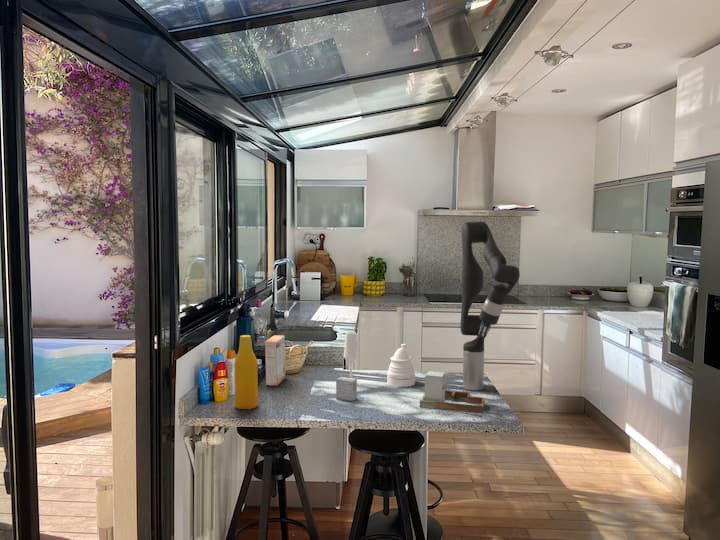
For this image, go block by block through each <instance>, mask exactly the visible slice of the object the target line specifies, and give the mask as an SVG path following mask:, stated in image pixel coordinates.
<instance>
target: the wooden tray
mask: <svg viewBox="0 0 720 540" xmlns="http://www.w3.org/2000/svg"><path fill="white" fill-rule="evenodd" d="M485 400H486V399H485V397H479V396H471V392H469V391H458V390H457V391H456V390H446V389H445V402H435V401H425V392H424V393H423V395H422V397H421V398H420V399H419V408H427V407H429V408H430V409H438V408H441V409H440V410H447V411H449V410H451V411H458V412H459V411H460V412H461V411H462V412H470V411H471V412H472V413H480V412H482V414H483V412H484V409H485V405H486V404H485V403H486V401H485ZM446 401H450V402H446ZM455 402H463V403H455ZM464 403H465V404H464ZM466 403H467V404H466ZM477 403H478V404H477ZM429 408H428V409H429ZM471 412H470V413H471Z"/></svg>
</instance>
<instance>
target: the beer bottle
mask: <svg viewBox="0 0 720 540" xmlns="http://www.w3.org/2000/svg"><path fill="white" fill-rule="evenodd" d="M252 342H253V341H252V336H251V335H249V334H244V335H240V336H239V346H238V347H239V348H238V352H237V355H236V357H235V359H234V365H233V366H234V406H235V408H236V409H238V410H241V409H248V410H253V409H255V408H256V407H258V405H259V391H258V390H259V388H258V387H259V386H258V384H259V382H258V381H259V378H258V374H259V373H258V372H259V371H258V360H257V357H256V354H255V353H254V350H253V344H252ZM252 408H253V409H252Z"/></svg>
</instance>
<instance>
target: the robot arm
mask: <svg viewBox="0 0 720 540" xmlns="http://www.w3.org/2000/svg"><path fill="white" fill-rule="evenodd" d="M480 243H483V244H484V248H483V253H482V255H483V258H484V260H485V262H486V263H487V265H488V266H489V269H490V274H491V277H492V279H493V280H494V281H496V282H498V283H499V284H494V285H492V286H491V287H490V289H489V291H488V293H487V297H486V298H485V301H484V304H483V305H482V308H481V309H480V310H481V311H480V313H479V314H469V313H470V309H471V307H472V305H473V303H474V301H475V300H476V299H477V297H479V295H480V293H481V292H482V290H483V288H484V271H483V269H482V266H481V265H480V264H479V262H478V260H477V258H476V257H475V254H474V252H473V251H474V250H473V244H480ZM461 250H462V251H461V252H462V253H461V254H462V268H461V269H462V270H461V272H462V273H461V312H460V313H461V314H460V333H461V335H462V336H476V338H474V339H473V340H470V341H467V342H465V343H464V344H463V346H462V347H463V348H462V349H463V351H462V352H463V354H462V355H463V358H462V359H463V360H462V388H463V389H465V390H468V391H469V390H470V391H481V390H483V389H484V384H485V383H484V382H485V381H484V379H485V377H484V375H485V372H484V371H485V338H486V337H487V335H488V334H489V332H490V330H491V327H492V326H495V325H497V323H498V322H499V319H500V316H501V314H502V312H503V308H504V306H505V302H506V299H507V296H509V294H510V292H511V291H512V290H513V289H514V288H515V286H516V285H517V283H518V282H519V279H520V270H519V268H518V267H517V266H516V265H515V266H514V265H509V264H508V263H507V259H506V257H505V256H504V254H503V252H502V251H501V250H500V249H499V247H498V245H497V243H496V241H495V238H494V236H493V233H492V231H491V229H490V227H489V226H488V224H487V223H486V222H484V221H468V222H467V221H465V222H464V223H463V224H462V227H461Z"/></svg>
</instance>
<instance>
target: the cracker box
mask: <svg viewBox="0 0 720 540" xmlns="http://www.w3.org/2000/svg"><path fill="white" fill-rule="evenodd" d="M285 339H286V337H285V335H277V334H276V335H273V336H271V337H269V338H268V339H266V340H265V341H264V349H265V353H264V354H265V355H264V356H265V357H264V358H265V385H266V386H267V385H269V386H274V387H277V386H279V385H280V384H281V383H282V382H283V381H284V380H285V379H286V344H285V343H286V342H285Z"/></svg>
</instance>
